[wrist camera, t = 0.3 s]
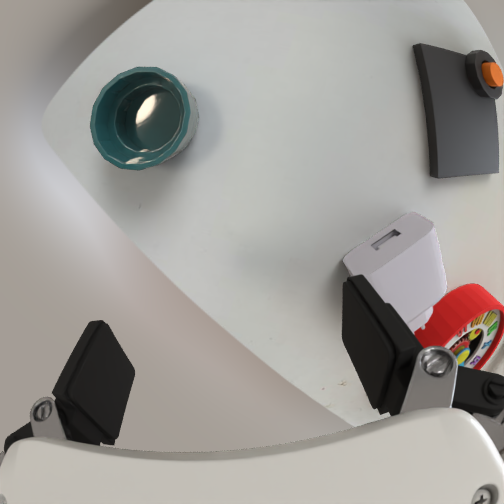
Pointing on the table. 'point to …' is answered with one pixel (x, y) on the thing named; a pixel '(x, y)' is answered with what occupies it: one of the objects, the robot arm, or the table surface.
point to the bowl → (143, 118)
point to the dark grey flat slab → (458, 112)
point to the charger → (403, 267)
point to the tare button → (492, 74)
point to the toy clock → (465, 325)
